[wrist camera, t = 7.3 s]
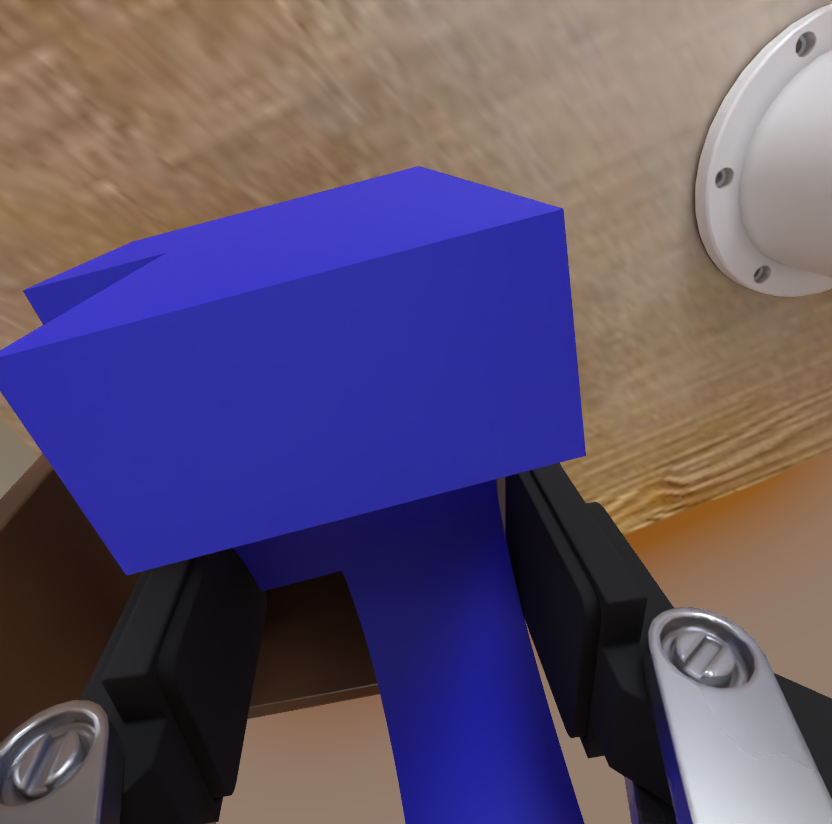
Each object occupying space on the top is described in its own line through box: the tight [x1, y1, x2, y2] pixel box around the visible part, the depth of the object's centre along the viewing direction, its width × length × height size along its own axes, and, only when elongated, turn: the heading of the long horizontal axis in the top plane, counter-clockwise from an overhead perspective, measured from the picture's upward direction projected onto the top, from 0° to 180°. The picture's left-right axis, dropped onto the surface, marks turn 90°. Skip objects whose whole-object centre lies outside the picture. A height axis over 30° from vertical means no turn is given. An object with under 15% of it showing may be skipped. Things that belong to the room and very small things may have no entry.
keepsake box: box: [247, 477, 505, 719], centre depth 25 cm, size 15×17×9 cm
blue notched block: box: [0, 166, 586, 824], centre depth 8 cm, size 12×4×6 cm, turn 13°
